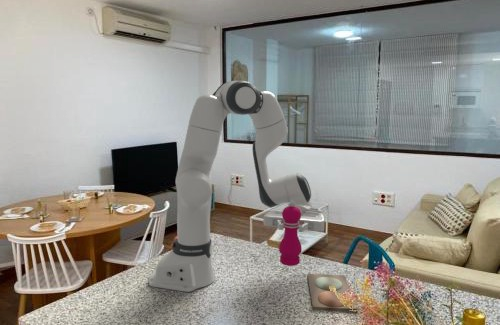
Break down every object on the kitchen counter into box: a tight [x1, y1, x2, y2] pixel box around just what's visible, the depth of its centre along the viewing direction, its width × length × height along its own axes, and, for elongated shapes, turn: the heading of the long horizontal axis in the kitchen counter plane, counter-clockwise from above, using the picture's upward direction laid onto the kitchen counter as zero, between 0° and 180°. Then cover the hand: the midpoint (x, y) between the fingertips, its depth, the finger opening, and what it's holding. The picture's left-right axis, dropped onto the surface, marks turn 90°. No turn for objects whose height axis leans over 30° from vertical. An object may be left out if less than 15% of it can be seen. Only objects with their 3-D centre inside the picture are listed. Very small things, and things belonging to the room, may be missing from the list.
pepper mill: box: [278, 202, 303, 267], centre depth 118 cm, size 7×7×20 cm
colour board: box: [306, 273, 358, 312], centre depth 121 cm, size 13×22×1 cm, turn 175°
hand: (290, 228), depth 117 cm, fingers closed on pepper mill, 5 cm apart
